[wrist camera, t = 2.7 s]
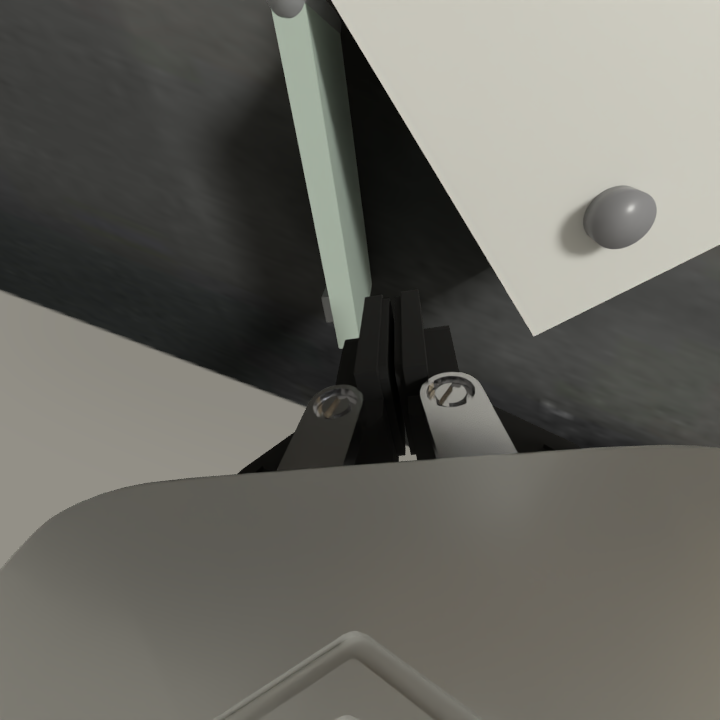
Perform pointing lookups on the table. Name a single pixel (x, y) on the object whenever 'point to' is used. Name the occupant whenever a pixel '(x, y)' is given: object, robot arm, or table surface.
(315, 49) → the side door
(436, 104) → the block
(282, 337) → the table surface
